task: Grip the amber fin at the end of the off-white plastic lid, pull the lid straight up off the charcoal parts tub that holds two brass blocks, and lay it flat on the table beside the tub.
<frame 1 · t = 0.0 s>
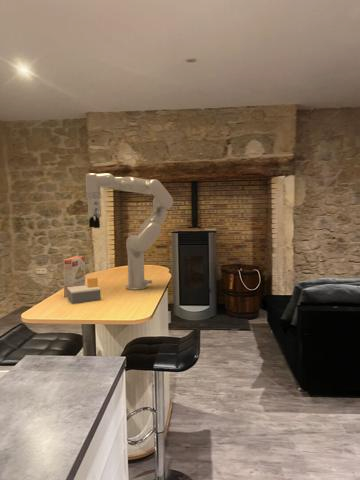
hand: (94, 227, 195), 37 cm above the worktop, tool pointing down, fingers open, 9 cm apart
lid: (84, 291, 181), point 5 cm above the worktop, touching tub
tub: (84, 300, 181), on the worktop
brass block a: (90, 298, 183), point 1 cm above the worktop, touching tub
brass block b: (78, 300, 180), point 1 cm above the worktop, touching tub
cracker box: (75, 295, 193), on the worktop
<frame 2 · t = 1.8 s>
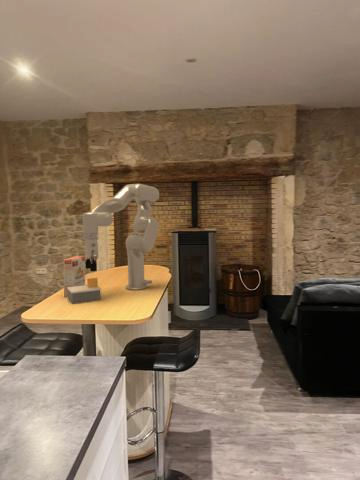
hand: (91, 269, 182), 16 cm above the worktop, tool pointing down, fingers open, 9 cm apart
nothing on the worktop moved.
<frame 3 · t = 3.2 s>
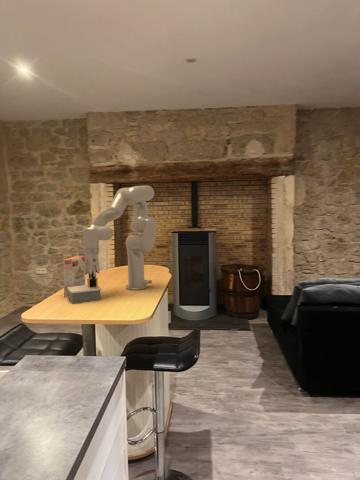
hand: (92, 286, 183), 7 cm above the worktop, tool pointing down, fingers closed on lid
lid: (84, 291, 181), point 5 cm above the worktop, touching gripper
everything else where it was.
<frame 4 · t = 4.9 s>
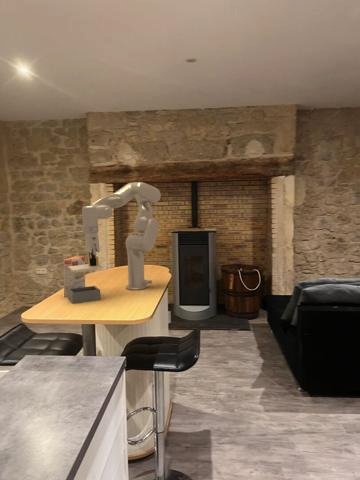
hand: (92, 265, 182), 18 cm above the worktop, tool pointing down, fingers closed on lid
lid: (85, 269, 181), point 16 cm above the worktop, touching gripper
everything else where it was.
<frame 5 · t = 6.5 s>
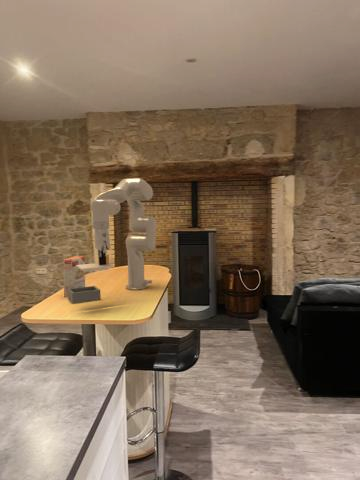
hand: (102, 264, 168), 21 cm above the worktop, tool pointing down, fingers closed on lid
lid: (94, 269, 166), point 19 cm above the worktop, touching gripper
everything else where it was.
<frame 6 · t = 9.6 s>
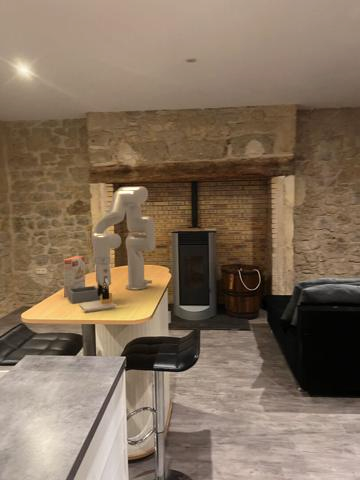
hand: (103, 297, 170), 5 cm above the worktop, tool pointing down, fingers open, 7 cm apart
lid: (97, 307, 169), on the worktop
everything else where it was.
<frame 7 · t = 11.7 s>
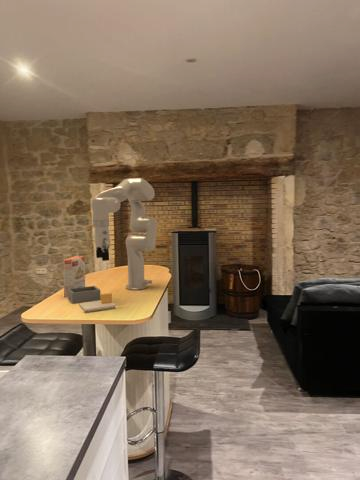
hand: (102, 259, 171), 23 cm above the worktop, tool pointing down, fingers open, 9 cm apart
nothing on the worktop moved.
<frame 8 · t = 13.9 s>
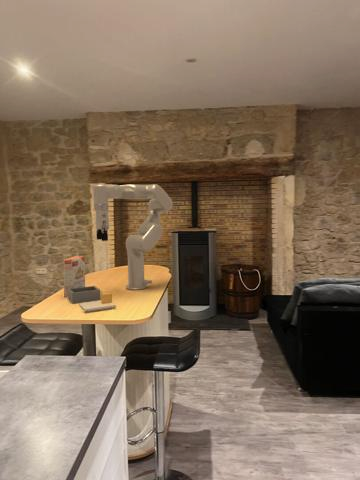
hand: (102, 240, 190), 30 cm above the worktop, tool pointing down, fingers open, 9 cm apart
nothing on the worktop moved.
at the end: lid inside the target area (1.5 cm from its centre), on the worktop; lid touching worktop; lid tilted 0° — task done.
